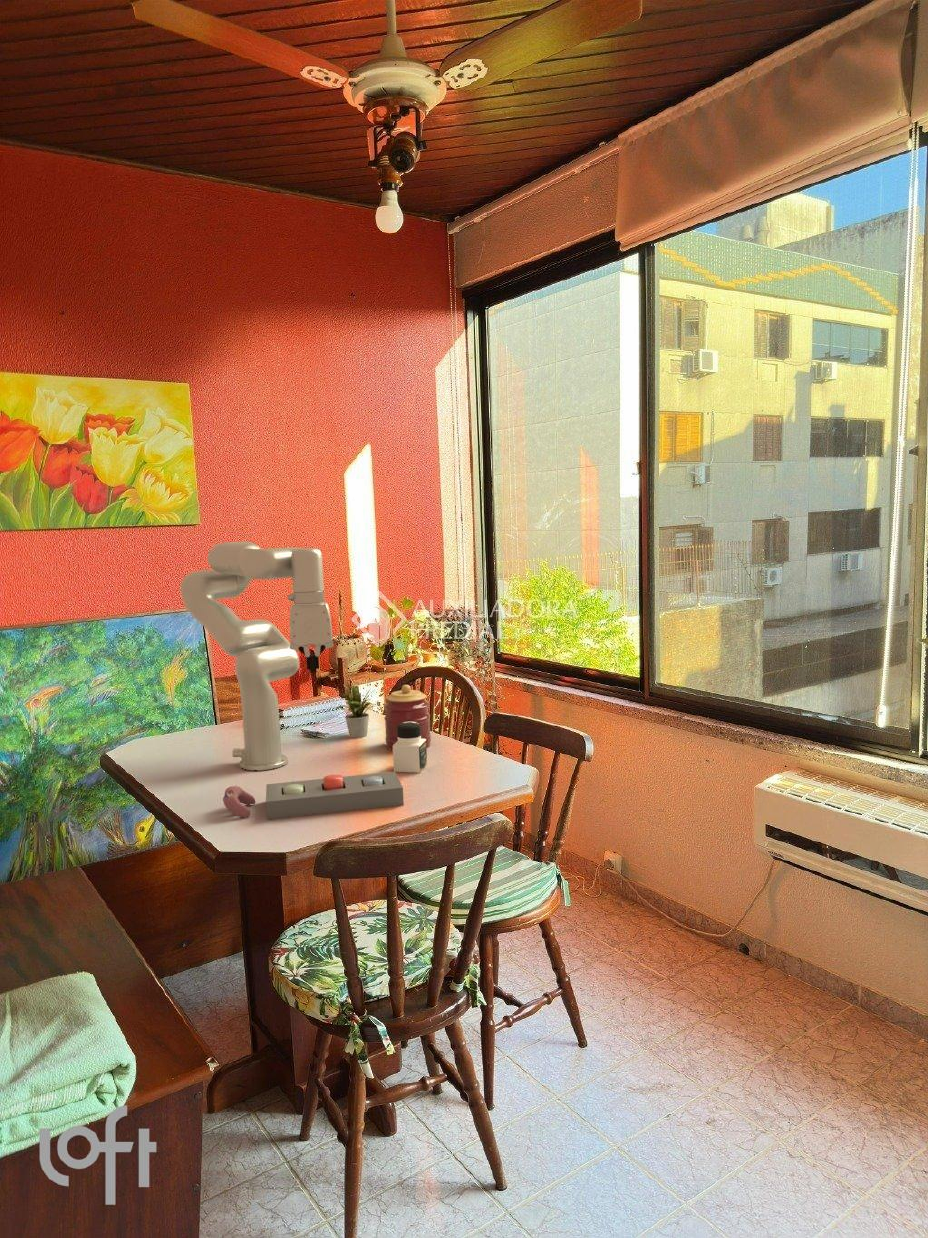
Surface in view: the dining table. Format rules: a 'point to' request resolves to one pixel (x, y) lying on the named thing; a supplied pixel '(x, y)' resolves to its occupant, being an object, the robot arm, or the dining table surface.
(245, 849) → the dining table surface
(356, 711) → the house plant
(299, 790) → the green button
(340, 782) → the red button
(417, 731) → the medicine bottle
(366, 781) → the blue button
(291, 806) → the button panel
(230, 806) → the video game controller
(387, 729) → the canister
